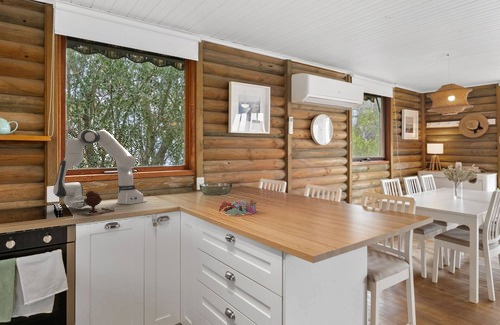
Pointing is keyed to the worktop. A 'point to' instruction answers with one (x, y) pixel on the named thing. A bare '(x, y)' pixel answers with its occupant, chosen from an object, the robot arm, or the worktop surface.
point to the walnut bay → (97, 213)
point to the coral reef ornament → (239, 207)
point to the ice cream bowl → (92, 200)
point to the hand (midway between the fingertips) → (90, 203)
